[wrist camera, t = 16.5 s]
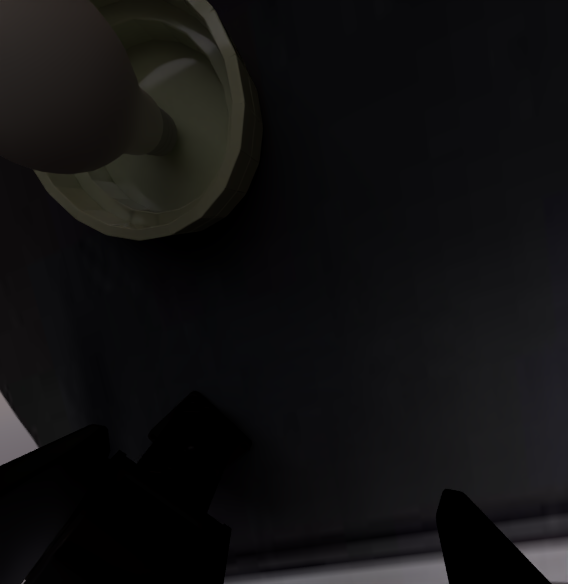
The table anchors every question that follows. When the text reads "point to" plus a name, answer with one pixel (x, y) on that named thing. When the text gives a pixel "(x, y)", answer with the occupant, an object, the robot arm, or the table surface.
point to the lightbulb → (71, 91)
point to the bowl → (189, 123)
